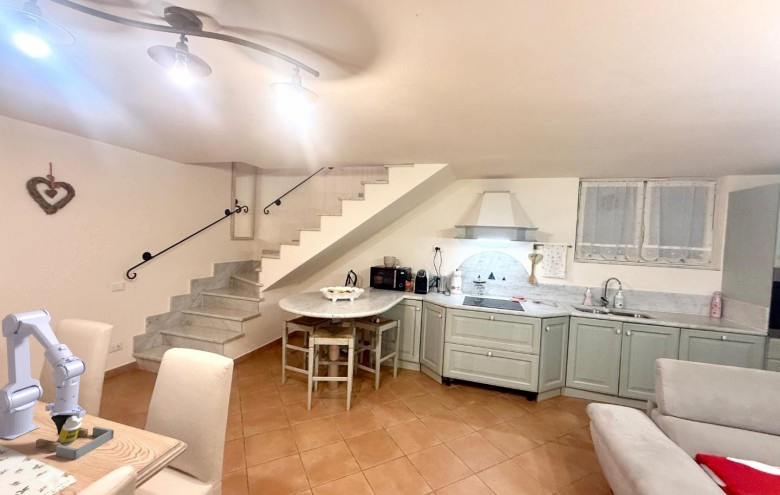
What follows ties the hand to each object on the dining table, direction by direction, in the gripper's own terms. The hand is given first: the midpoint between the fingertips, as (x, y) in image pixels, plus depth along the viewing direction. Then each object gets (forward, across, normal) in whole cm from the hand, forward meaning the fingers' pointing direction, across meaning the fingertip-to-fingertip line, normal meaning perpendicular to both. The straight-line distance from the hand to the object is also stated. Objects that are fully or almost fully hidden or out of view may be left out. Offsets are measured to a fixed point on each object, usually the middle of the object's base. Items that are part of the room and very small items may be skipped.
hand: (63, 433), depth 107 cm
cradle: (+2, +10, 0) cm, 10 cm away
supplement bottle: (+2, +2, 0) cm, 3 cm away
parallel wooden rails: (+3, 0, 0) cm, 3 cm away
